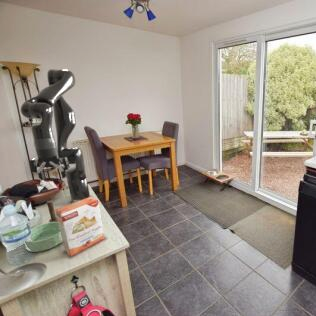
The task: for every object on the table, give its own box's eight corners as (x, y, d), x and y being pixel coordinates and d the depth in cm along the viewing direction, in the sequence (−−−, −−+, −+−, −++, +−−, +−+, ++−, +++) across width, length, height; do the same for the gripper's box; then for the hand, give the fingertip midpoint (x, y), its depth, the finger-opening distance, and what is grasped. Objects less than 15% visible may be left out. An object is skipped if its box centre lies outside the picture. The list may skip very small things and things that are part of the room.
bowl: (35, 234, 104) (32, 224, 102) (71, 229, 108) (69, 219, 107) (18, 255, 91) (14, 245, 89) (59, 249, 96) (56, 238, 94)
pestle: (52, 224, 111) (46, 199, 107) (62, 223, 113) (56, 198, 108) (49, 229, 108) (42, 204, 103) (59, 227, 109) (52, 203, 105)
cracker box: (71, 257, 92) (60, 214, 85) (64, 251, 95) (53, 209, 88) (105, 239, 103) (98, 199, 96) (98, 234, 106) (91, 195, 99)
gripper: (67, 143, 108) (73, 174, 113) (31, 145, 104) (39, 177, 109) (60, 148, 101) (68, 180, 106) (22, 149, 97) (31, 183, 102)
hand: (53, 178), depth 107 cm, fingers open, 8 cm apart
